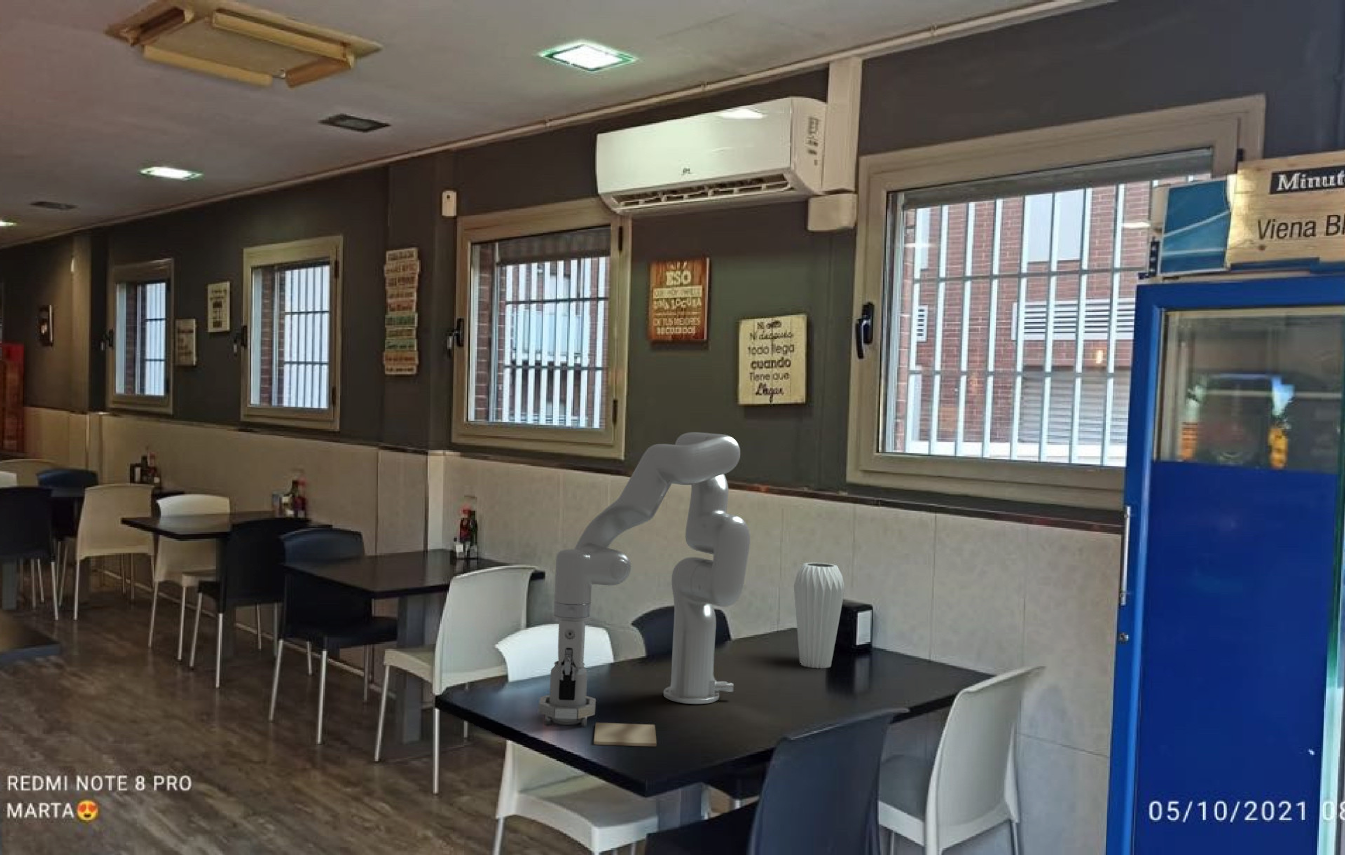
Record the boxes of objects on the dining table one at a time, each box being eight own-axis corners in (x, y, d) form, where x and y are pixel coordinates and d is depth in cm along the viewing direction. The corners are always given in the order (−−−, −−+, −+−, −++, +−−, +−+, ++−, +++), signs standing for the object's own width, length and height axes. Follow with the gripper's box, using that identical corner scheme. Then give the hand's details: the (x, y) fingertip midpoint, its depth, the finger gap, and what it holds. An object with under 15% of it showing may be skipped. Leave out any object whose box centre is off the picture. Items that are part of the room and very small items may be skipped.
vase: (805, 656, 285) (810, 559, 284) (849, 665, 277) (854, 565, 277) (780, 664, 274) (785, 564, 274) (826, 673, 266) (831, 570, 266)
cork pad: (654, 727, 213) (654, 724, 213) (656, 746, 201) (656, 743, 201) (595, 725, 213) (595, 722, 213) (593, 744, 201) (593, 741, 201)
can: (579, 727, 211) (581, 668, 211) (543, 723, 213) (546, 664, 213) (589, 717, 219) (592, 660, 218) (555, 713, 220) (557, 656, 220)
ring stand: (595, 713, 222) (596, 694, 222) (593, 729, 210) (594, 709, 210) (541, 711, 221) (542, 692, 221) (536, 727, 210) (537, 707, 210)
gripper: (588, 619, 207) (584, 705, 207) (591, 603, 224) (587, 683, 224) (550, 617, 207) (546, 704, 207) (556, 602, 224) (552, 681, 224)
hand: (567, 693), depth 216 cm, fingers open, 9 cm apart
